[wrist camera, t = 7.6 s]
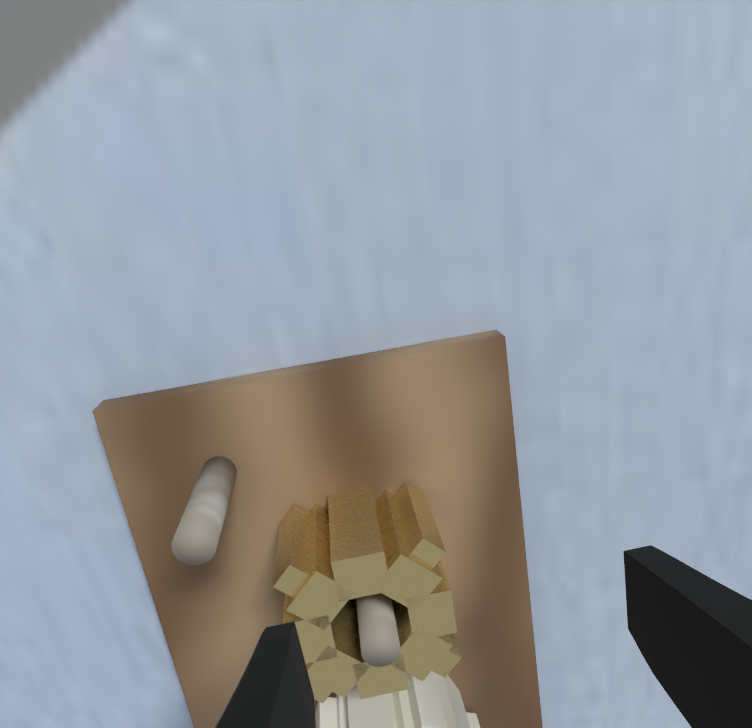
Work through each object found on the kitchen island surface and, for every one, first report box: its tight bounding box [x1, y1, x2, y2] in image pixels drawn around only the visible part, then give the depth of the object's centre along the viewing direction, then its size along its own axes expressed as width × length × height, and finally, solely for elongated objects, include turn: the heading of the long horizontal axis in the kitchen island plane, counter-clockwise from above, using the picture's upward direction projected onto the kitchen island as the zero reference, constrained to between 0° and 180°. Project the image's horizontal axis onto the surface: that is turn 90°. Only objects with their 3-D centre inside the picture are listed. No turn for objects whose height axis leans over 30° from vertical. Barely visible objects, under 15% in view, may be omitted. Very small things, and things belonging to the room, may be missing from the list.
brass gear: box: [273, 482, 461, 703], centre depth 20 cm, size 5×5×4 cm
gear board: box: [93, 330, 542, 728], centre depth 21 cm, size 14×22×6 cm, turn 9°
